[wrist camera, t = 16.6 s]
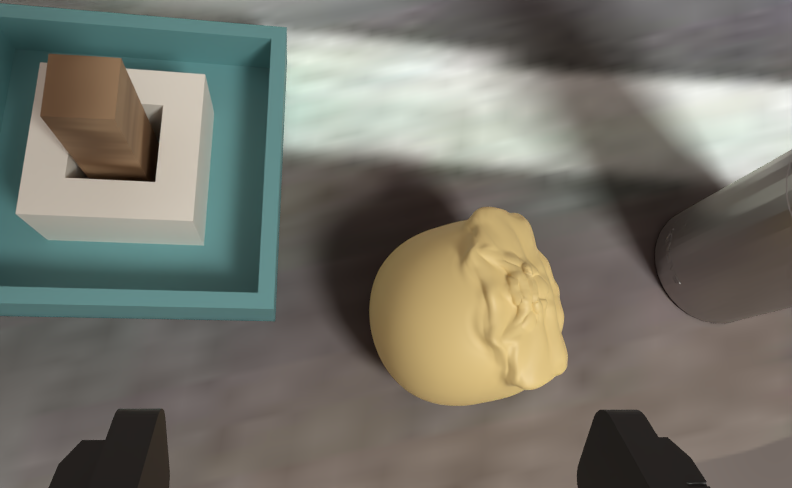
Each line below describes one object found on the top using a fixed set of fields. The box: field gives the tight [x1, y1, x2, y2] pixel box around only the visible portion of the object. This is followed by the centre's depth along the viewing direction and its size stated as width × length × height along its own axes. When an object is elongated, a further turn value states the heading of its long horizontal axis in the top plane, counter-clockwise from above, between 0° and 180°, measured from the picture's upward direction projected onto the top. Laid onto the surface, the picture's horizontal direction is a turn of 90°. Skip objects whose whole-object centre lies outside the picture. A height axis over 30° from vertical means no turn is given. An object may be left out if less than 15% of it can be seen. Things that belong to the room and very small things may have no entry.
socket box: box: [0, 3, 287, 321], centre depth 43 cm, size 20×20×6 cm
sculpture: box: [369, 207, 568, 406], centre depth 42 cm, size 11×12×11 cm
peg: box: [40, 54, 159, 182], centre depth 40 cm, size 4×4×12 cm
